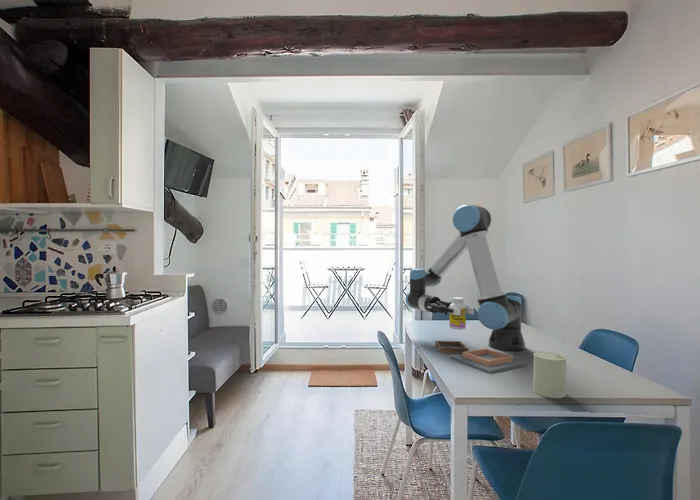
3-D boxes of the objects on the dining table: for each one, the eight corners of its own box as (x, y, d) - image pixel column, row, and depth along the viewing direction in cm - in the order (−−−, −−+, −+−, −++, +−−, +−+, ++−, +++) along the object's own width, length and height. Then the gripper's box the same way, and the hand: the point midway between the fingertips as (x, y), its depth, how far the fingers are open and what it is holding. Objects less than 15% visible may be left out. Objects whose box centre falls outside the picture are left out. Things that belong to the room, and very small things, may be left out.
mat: (449, 358, 154) (449, 355, 154) (485, 352, 164) (485, 349, 164) (489, 373, 137) (489, 370, 137) (526, 365, 146) (526, 362, 146)
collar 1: (435, 345, 174) (435, 340, 174) (460, 345, 174) (461, 341, 174) (440, 352, 162) (440, 347, 162) (468, 353, 162) (468, 348, 162)
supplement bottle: (448, 329, 161) (449, 298, 161) (449, 326, 167) (450, 296, 167) (465, 330, 159) (465, 299, 159) (466, 327, 165) (466, 297, 165)
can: (565, 400, 113) (565, 360, 113) (530, 394, 118) (531, 355, 118) (566, 390, 121) (567, 353, 121) (534, 384, 126) (535, 348, 126)
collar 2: (462, 357, 153) (462, 352, 153) (485, 352, 159) (486, 348, 159) (488, 366, 141) (488, 361, 141) (512, 361, 148) (512, 356, 148)
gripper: (446, 310, 183) (483, 318, 163) (413, 313, 174) (448, 322, 154) (446, 294, 183) (483, 301, 163) (413, 296, 174) (448, 304, 154)
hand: (466, 311), depth 158 cm, fingers closed on supplement bottle, 7 cm apart
